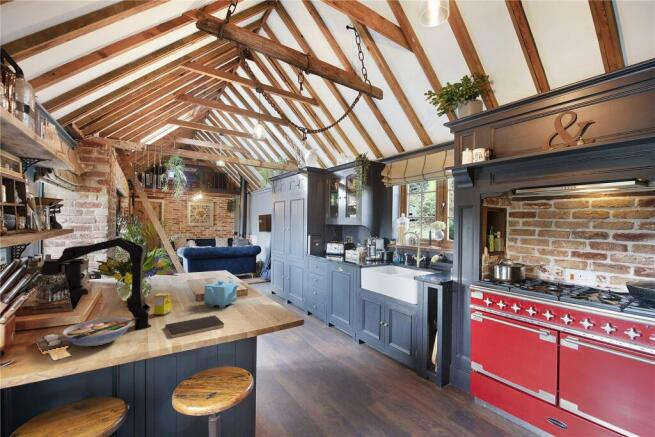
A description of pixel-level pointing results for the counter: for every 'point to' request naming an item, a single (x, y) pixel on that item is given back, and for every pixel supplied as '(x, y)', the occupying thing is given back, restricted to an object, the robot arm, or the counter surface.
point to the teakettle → (220, 293)
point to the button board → (45, 347)
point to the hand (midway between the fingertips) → (73, 309)
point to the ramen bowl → (97, 331)
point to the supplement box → (162, 304)
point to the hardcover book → (194, 326)
